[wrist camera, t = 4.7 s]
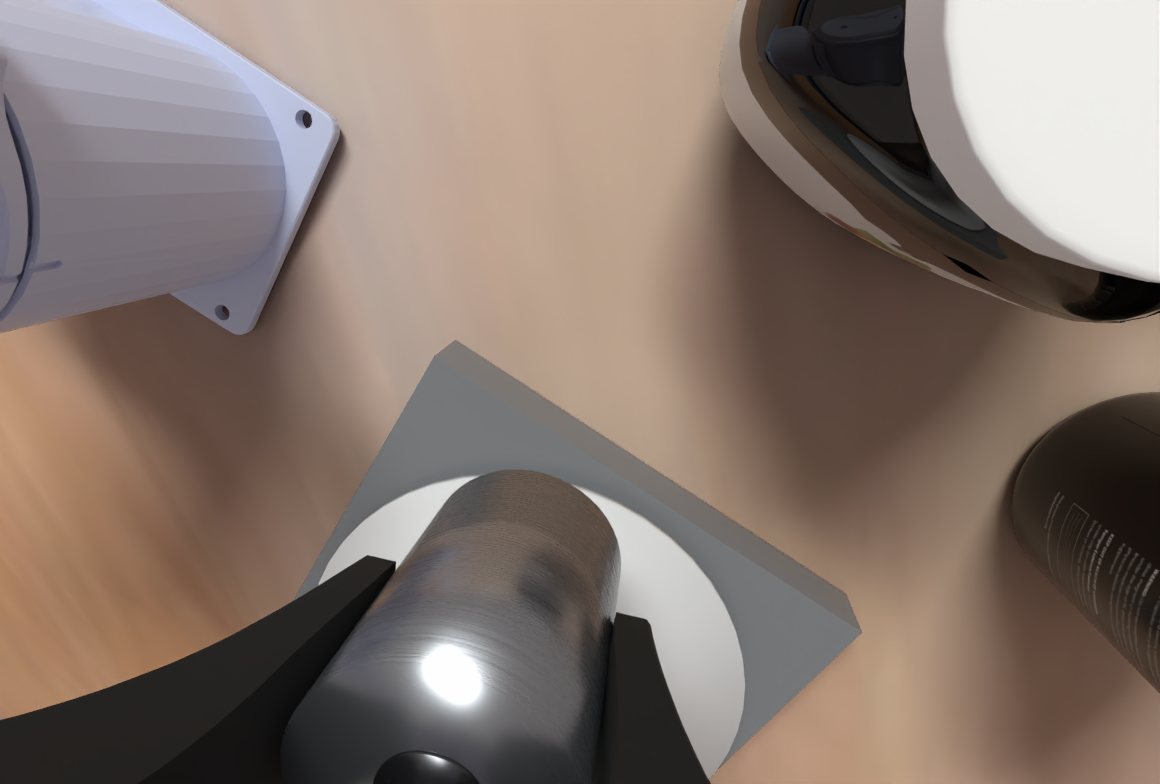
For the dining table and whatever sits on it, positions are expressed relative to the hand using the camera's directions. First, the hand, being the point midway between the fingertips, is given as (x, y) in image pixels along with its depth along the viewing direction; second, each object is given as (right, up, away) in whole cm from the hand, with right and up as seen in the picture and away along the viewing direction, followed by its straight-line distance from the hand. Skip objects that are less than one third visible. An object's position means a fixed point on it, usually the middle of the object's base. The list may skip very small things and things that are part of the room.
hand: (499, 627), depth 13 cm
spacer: (0, +1, +2) cm, 2 cm away
